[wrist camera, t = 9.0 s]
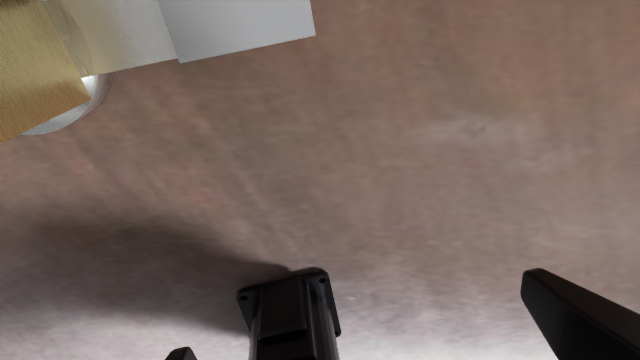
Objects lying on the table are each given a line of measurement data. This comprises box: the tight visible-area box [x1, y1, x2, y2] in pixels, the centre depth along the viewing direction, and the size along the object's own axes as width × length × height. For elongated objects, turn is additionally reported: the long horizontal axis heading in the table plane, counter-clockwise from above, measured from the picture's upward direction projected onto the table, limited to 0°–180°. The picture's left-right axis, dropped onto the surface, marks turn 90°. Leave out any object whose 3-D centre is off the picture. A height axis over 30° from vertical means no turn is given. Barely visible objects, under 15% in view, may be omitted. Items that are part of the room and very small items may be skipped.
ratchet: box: [21, 0, 316, 135], centre depth 13 cm, size 16×7×6 cm, turn 100°
